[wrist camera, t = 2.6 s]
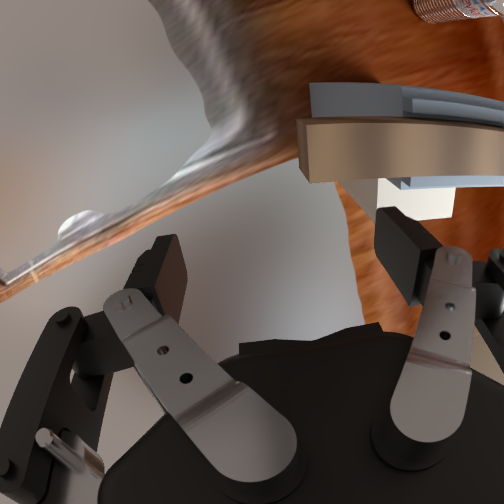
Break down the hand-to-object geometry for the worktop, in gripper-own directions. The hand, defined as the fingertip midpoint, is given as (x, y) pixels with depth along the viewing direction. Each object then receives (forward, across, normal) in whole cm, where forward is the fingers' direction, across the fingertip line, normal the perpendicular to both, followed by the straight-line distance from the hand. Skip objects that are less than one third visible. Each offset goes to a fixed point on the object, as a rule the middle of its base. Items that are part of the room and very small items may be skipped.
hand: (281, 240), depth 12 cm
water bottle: (+42, +35, +22) cm, 59 cm away
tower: (+42, +17, +2) cm, 46 cm away
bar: (+10, +13, +2) cm, 17 cm away
